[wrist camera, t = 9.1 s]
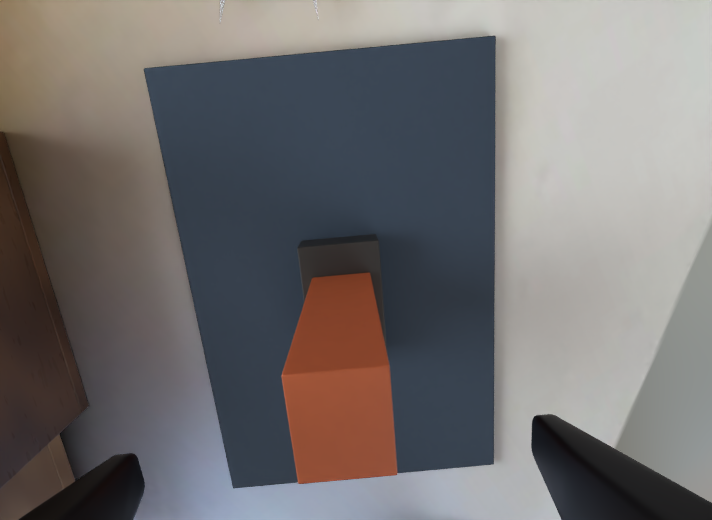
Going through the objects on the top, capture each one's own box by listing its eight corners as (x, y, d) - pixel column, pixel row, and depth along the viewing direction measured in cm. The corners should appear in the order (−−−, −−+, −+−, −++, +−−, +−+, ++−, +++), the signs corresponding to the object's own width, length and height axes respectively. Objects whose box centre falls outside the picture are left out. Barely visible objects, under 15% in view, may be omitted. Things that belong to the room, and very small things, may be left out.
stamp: (384, 347, 19) (419, 516, 10) (315, 353, 19) (286, 529, 10) (376, 233, 18) (407, 308, 8) (300, 240, 18) (249, 322, 8)
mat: (491, 459, 21) (493, 464, 21) (235, 482, 21) (232, 488, 21) (492, 38, 16) (495, 35, 16) (148, 70, 16) (143, 68, 16)
